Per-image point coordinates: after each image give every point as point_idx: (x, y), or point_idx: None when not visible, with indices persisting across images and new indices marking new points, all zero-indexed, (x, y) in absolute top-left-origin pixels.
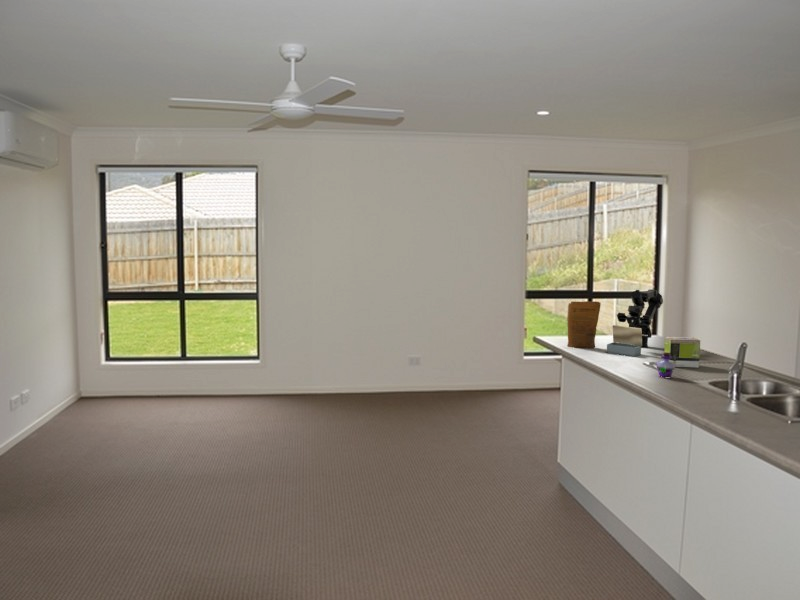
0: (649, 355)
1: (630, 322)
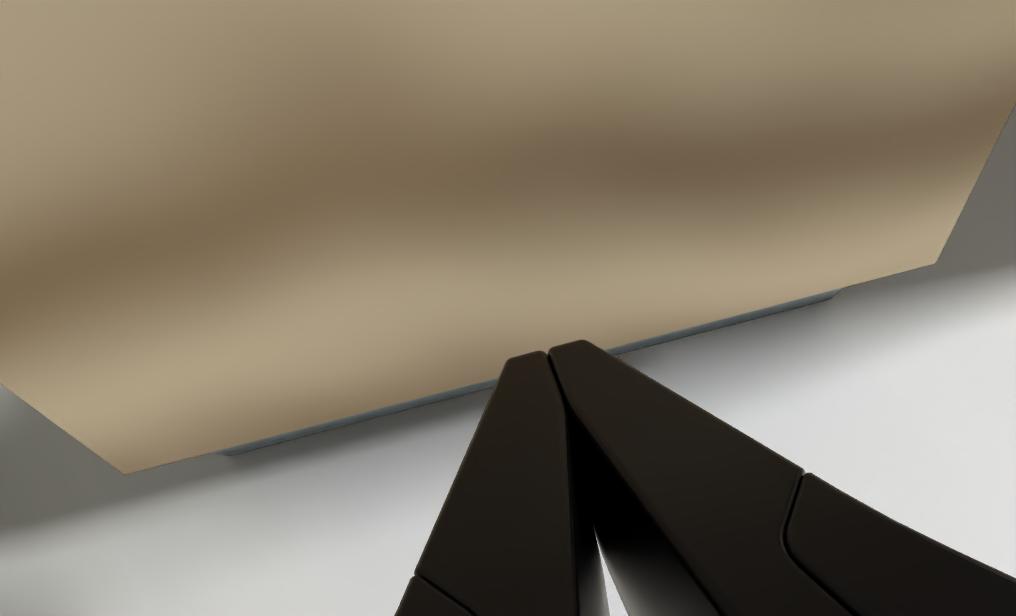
0: (62, 551)
1: (767, 609)
